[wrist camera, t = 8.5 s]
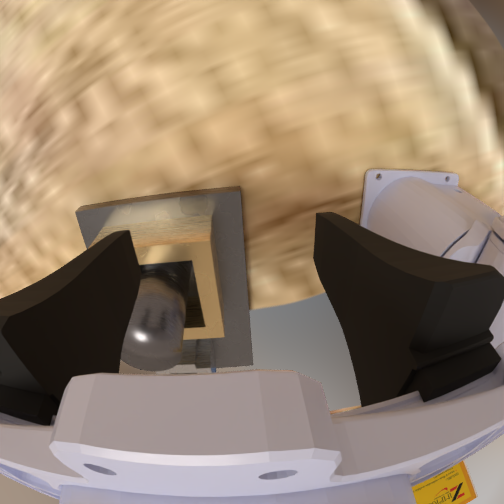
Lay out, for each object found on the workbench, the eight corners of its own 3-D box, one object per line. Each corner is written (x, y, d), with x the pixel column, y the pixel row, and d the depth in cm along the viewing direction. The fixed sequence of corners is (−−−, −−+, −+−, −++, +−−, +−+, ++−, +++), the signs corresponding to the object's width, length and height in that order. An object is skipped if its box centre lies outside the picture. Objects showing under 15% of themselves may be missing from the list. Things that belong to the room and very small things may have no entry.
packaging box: (427, 423, 53) (457, 502, 31) (367, 449, 55) (391, 533, 33) (437, 399, 44) (478, 496, 23) (364, 432, 46) (395, 537, 25)
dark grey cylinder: (188, 241, 20) (175, 325, 14) (193, 286, 22) (186, 371, 16) (134, 243, 20) (101, 323, 13) (144, 287, 22) (122, 369, 15)
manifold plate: (239, 186, 20) (243, 213, 16) (252, 357, 29) (256, 393, 25) (80, 206, 19) (53, 235, 15) (141, 362, 29) (134, 396, 25)
